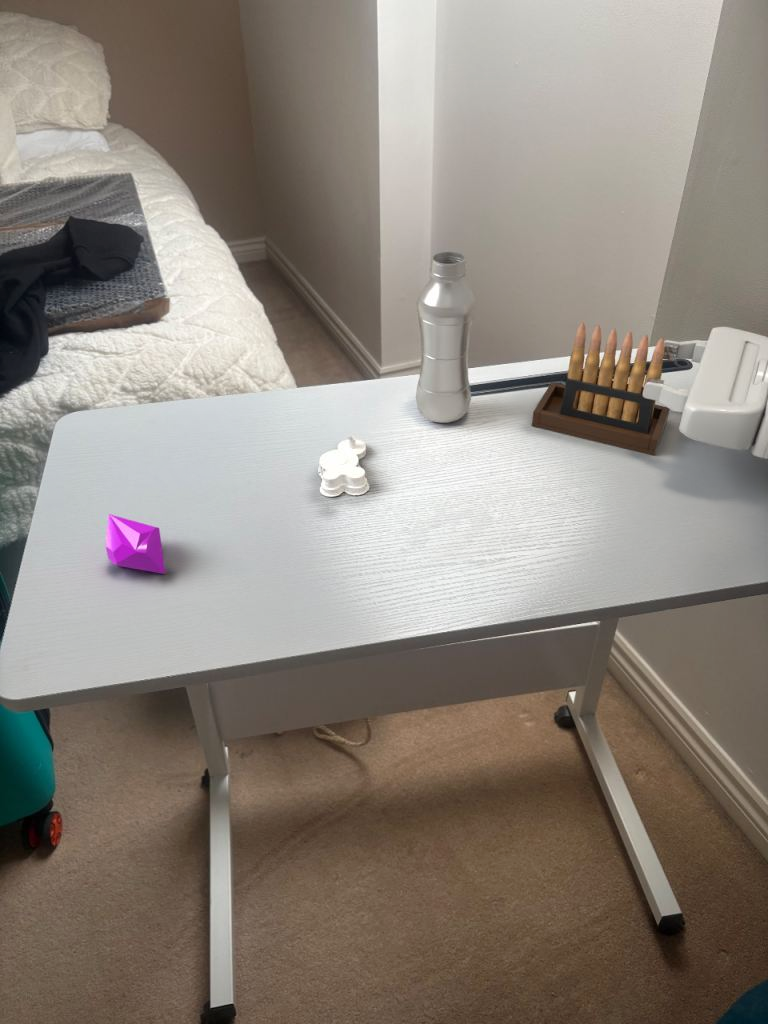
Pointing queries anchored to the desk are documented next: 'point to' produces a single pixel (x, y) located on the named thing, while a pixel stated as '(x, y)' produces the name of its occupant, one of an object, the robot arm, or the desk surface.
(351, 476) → the white lobed figurine
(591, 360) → the ammunition clip
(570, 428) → the tray
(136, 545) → the crystal
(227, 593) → the desk surface
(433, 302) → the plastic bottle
